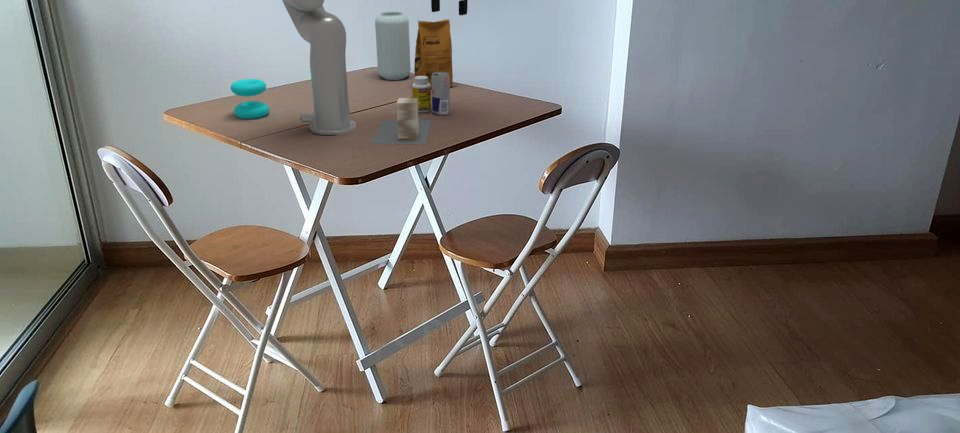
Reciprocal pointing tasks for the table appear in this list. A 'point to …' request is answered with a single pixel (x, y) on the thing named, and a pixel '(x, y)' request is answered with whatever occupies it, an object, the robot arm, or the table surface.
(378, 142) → the rubber mat
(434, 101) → the energy drink
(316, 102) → the robot arm
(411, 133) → the birch block
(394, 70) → the vase
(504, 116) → the table surface
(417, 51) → the coffee package
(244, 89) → the donuts
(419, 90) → the supplement bottle
